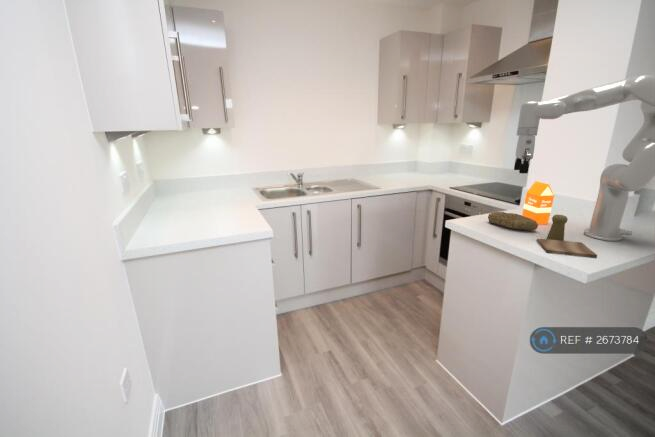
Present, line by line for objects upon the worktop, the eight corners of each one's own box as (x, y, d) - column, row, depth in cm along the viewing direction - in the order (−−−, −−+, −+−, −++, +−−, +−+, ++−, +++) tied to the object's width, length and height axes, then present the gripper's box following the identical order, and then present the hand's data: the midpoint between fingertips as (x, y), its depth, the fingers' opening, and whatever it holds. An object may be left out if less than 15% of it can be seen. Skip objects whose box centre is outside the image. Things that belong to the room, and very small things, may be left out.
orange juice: (534, 218, 160) (542, 180, 154) (548, 224, 152) (557, 184, 146) (520, 219, 159) (528, 181, 153) (533, 224, 151) (542, 184, 145)
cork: (543, 237, 135) (548, 213, 132) (557, 237, 135) (563, 213, 131) (552, 242, 129) (558, 217, 126) (567, 242, 129) (573, 217, 126)
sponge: (484, 225, 154) (521, 230, 136) (486, 210, 154) (523, 212, 135) (503, 227, 159) (541, 232, 140) (505, 212, 159) (544, 215, 140)
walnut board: (581, 245, 126) (581, 242, 126) (596, 258, 114) (597, 255, 114) (536, 240, 131) (536, 238, 130) (546, 252, 119) (547, 249, 119)
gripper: (543, 132, 123) (535, 174, 128) (531, 131, 139) (525, 169, 144) (522, 132, 126) (515, 174, 131) (512, 131, 141) (506, 168, 146)
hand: (520, 171), depth 137 cm, fingers open, 9 cm apart
